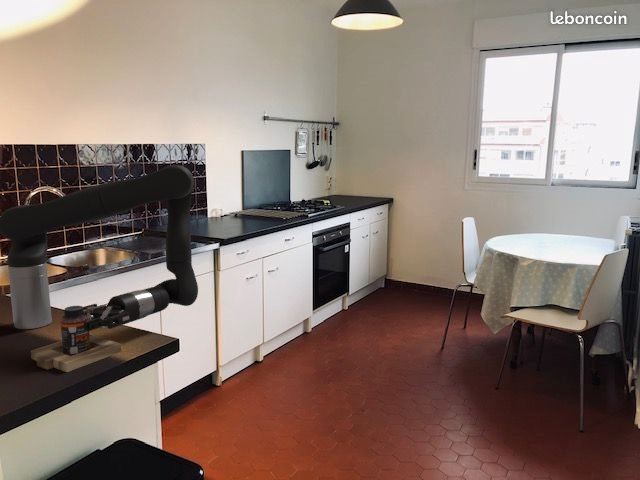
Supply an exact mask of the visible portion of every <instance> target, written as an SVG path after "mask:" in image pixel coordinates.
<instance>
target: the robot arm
mask: <svg viewBox="0 0 640 480" xmlns="http://www.w3.org/2000/svg"><path fill="white" fill-rule="evenodd" d="M193 175H194V174H192V172H191V170H189V168H187V167H185V166H183V165H180V164H172V165H168V166H165V167H163V168H162V169H159V170H156V171H153V172H150V173H148V174H145V175H143V176H139V177H136V178H130V179H123V180H122V179H120V180H116V181H110V182H103V183H100V184H96V185H92V186H88V187H85V188H82V189H79V190H76V191H74V192H70V193H68V194H65V195H63V196H60V197H58V198H55V199H53V200H50V201H45V202H42V203H36V204H32V205H31V204H21V205H17V206H13V207H10V208H8V209H6V210H5V211H4V212H3V213H2V214H1V215H0V234H1V236H3V237H4V238H5V239H7V240H10V241H11V242H10V243H11V244H10V245H11V246H10V249H9V252H8V255H7V257H6V258H7V269H8V279H9V286H10V287H9V288H10V303H11V310H12V321H13V325H14V326H13V327H14V328H15V329H17V330H31V329H38V328H42V327H45V326H48V325H50V324H51V323H52V322H53V318H52V309H51V308H52V307H51V298H50V297H51V296H50V286H49V276H48V266H47V253H48V232H51V231H52V230H53V231H54V230H55V229H60V228H64V227H70V226H71V227H72V226H78V225H83V224H88V223H92V222H97V221H101V220H104V219H108V218H112V217H115V216H118V215H122V214H123V213H126V212H129V211H131V210H133V209H136V208H139V207H141V206H144V205H147V204H151V203H156V202H163V201H166V208H167V224H166V233H165V234H166V237H165V265H166V269H167V270H168V272H170V273H172V274H173V275H174V276H175V277H174V278H171V279H166V280H164V281H162V282H159V283H158V284H156V285H154V286H151V287H148V288H145V289H140V290H139V289H138V290H137V289H136V290H133V291H130V292H125V293H122V294H119V295H115V296H112V297H110V299H109V300H108V302H107V304H100V305H99V306H98V303H92V304H89V305H85V306H82V307H83V311H84V312H83V313H84V314H85V315H86V316H87V317H88V321H87V322H84V331H87V332H88V331H89V332H92V331H93V330H96V329H100V328H101V329H105V328H107V329H110V330H111V329H115V328H116V327H119V326H123V325H126V324H129V323H133V322H136V321H138V320H142V319H144V318H147V317H148V316H151V315H153V314H156V313H157V314H158V313H161V312H162V311H164V310H166V309H167V308H168V306H169V304H175V305H177V306H178V305H180V306H184V307H189V306H191V305H193V304H194V303H196V301H197V298H198V295H199V285H198V282H197V281H198V280H197V278H196V274H195V271H194V268H193V265H192V238H191V237H192V235H191V234H192V233H191V203H192V196H193V189H194V185H195V177H194V176H193ZM64 316H65V315H63V316H62V318H63V317H64ZM91 316H92V317H91ZM62 318H61V319H62Z"/></svg>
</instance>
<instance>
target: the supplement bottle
mask: <svg viewBox="0 0 640 480" xmlns="http://www.w3.org/2000/svg"><path fill="white" fill-rule="evenodd" d="M83 307H84V306H82V305H71V306H66V307H65V308H64V312H63V313H64V315H63V316H64V317H63V316H62V317H63V318H61V320H60V331H61V333H60V334H61V341H62V346H63V354H66V355H68V356H73V355H76V354H79V353H81V352H84V351H87V350H90V335H91V334H90V331H88V332H87V331H84V322H87V321H88V317H87V316H86V315H85V314H84V313H83V312H84V311H83ZM89 334H90V335H89Z"/></svg>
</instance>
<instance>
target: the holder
mask: <svg viewBox="0 0 640 480" xmlns="http://www.w3.org/2000/svg"><path fill="white" fill-rule="evenodd" d="M89 335H90V350H87V351H84V352H81V353H79V354H76V355H73V356H68V355H66V354H63V346H62V340H60V341H57V342H54V343H51V344H48V345H44V346H42V347H38V348H35V349H32V350H30V357H31V358H30V359H31V360H33V361H36V366H37V367H39V368H42V369H45V370H47V371H48V370H51V369H53V368H55V369H57V370H59V371H62V372H64V373H65V372H66V373H69V372H71V371H74V370H77V369H80V368H82V367H84V366H87V365H90V364H93V363H95V362H98V361H101V360H103V359H106V358H108V357H110V356H113V355H116V354H118V353H121V352H122V345H121V344H122V343H119V342H116V341H114V340H109V339H107V338H103V337H99V336H95V335H93V334H90V333H89Z"/></svg>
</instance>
